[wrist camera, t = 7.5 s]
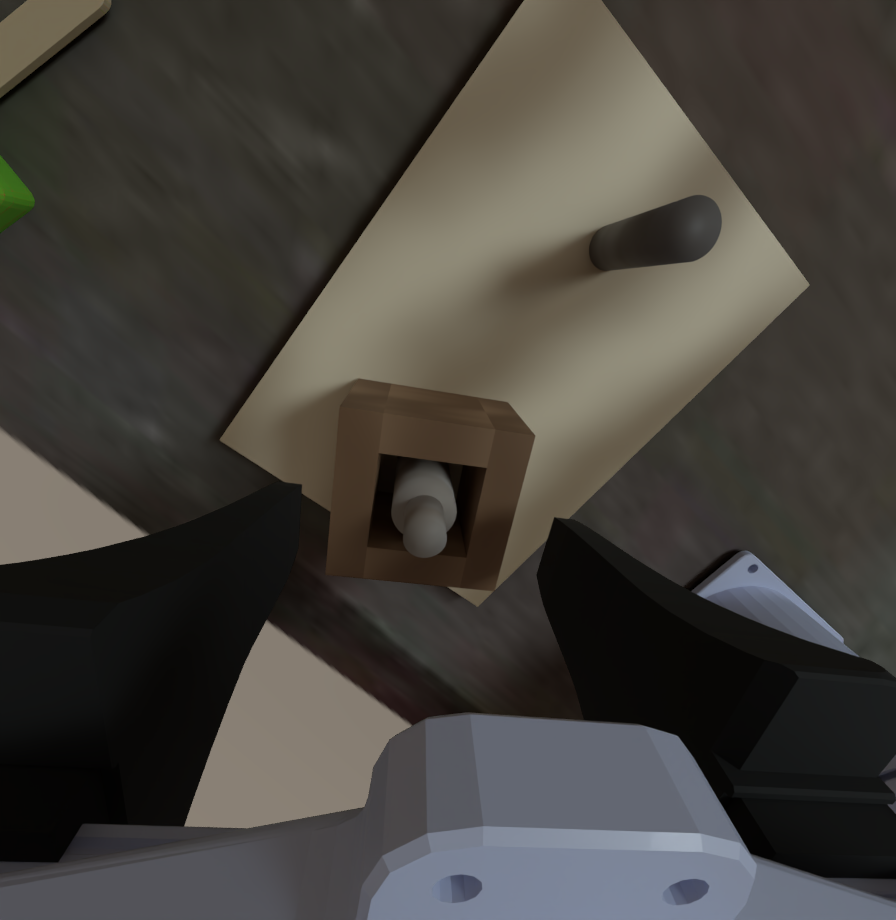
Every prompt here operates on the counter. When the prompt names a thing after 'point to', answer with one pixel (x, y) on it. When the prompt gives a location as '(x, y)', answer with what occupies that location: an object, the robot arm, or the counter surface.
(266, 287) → the counter surface
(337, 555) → the collar
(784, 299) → the fitting board
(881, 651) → the counter surface
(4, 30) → the popsicle
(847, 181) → the counter surface
